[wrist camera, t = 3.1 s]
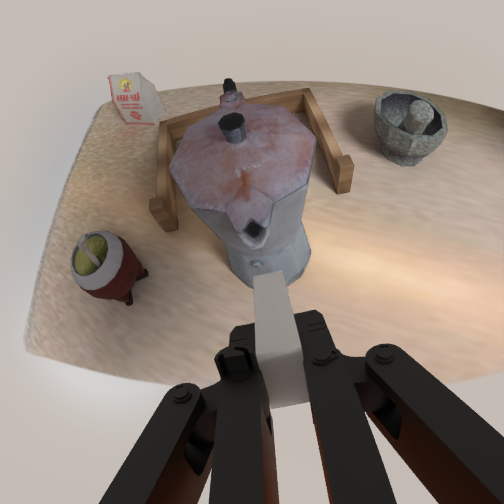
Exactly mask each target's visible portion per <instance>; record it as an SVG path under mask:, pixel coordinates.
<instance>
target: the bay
mask: <svg viewBox="0 0 504 504" xmlns="http://www.w3.org/2000/svg"><path fill="white" fill-rule="evenodd" d="M244 101H245V103H248V104H263V105H278V106H283V107H284V108H286V109H287V110H288V111H289V112H290V113H298V112H305V114H306V116H307V118H308V120H309V123H310V125H311V127H312V129H313V132H314V134H315V136H316V139H317V141H318V143H319V146H320V148H321V150H322V153H323V155H324V158H325V160H326V162H327V165H328V167H329V170H330V172H331V175H332V177H333V180H334V187H335V189H336V192H337V194H343V193H348V192H350V188H351V182H352V176H353V170H354V164H353V162H352V159H351V157H350V155H344V156H343V155H342V153H341V150H340V148H339V146H338V144H337V142H336V140H335V138H334V136H333V133H332V131H331V129H330V127H329V125H328V123H327V121H326V119H325V117H324V115H323V113H322V111H321V109H320V107H319V106H318V104H317V102H316V100H315V98H314V96H313V94H312V92H311V90H310V89H309V88H305V89H298V90H292V91H286V92H280V93H275V94H269V95H264V96H259V97H254V98H249V99H245V100H244ZM219 109H220V105H219V106H215V107H211V108H207V109H203V110H199V111H196V112H192V113H188V114H185V115H181V116H178V117H175V118H171V119H168V120H165V121H162V122H160V124H159V140H158V159H157V191H156V198H152V199H150V201H149V211H150V212H151V214H152V215H153V216H154V218H155V219H156V220H157V221H158V223H159V224H160V225H161V227H162V228H163V229H164V230H165V232H169V231H173V230H177V229H178V218H177V217H176V203H175V180H174V178H173V176H172V175H171V173H170V171H169V165H170V163H171V161H172V159H173V157H174V155H175V141H176V140H179V139H182V138H183V136H184V134H185V132H186V130H187V129H188V127H189V126H191V125H193V124H195V123H196V122H198V121H200V120H202V119H204V118H205V117H207V116H209V115H211V114H213V113H214V112H216V111H218V110H219Z"/></svg>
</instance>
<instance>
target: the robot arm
mask: <svg viewBox="0 0 504 504" xmlns="http://www.w3.org/2000/svg"><path fill="white" fill-rule="evenodd" d="M253 284H254V315H255V323H252V324H247V325H241V326H236V327H235V328H234V329H233V330H232V332H231V333H230V340H229V342H230V343H229V346H228V347H226V348H224V349H222V350H220V351H219V352H218V353H217V354H216V356H215V358H214V360H215V363H216V366H217V369H218V371H219V374H220V377H221V380H220V381H219V382H217V383H216V384H214V385H211V386H209V387H206V388H203V389H201V390H200V388H199V387H198V386H197V385H195V384H191V383H182V384H179V385H176V386H174V387H173V388H171V389H170V390H169V391H168V392H167V393H166V394H165V396H164V398H163V399H162V401H161V403H160V404H159V406H158V407H157V409H156V411H155V413H154V414H153V416H152V417H151V419H150V421H149V422H148V424H147V425H146V427H145V429H144V430H143V432H142V434H141V436H140V437H139V439H138V440H137V442H136V443H135V445H134V447H133V448H132V450H131V452H130V453H129V455H128V457H127V458H126V460H125V461H124V463H123V465H122V466H121V468H120V470H119V471H118V473H117V474H116V476H115V478H114V480H113V481H112V483H111V484H110V486H109V488H108V489H107V491H106V492H105V494H104V496H103V497H102V499H101V501H100V502H99V504H197V503H198V501H199V498H200V496H201V493H202V491H203V488H204V486H205V484H206V481H207V479H208V476H209V474H210V471H211V468H212V472H211V483H210V494H209V504H279V495H278V482H277V469H276V457H275V446H274V432H273V421H272V416H271V413H270V407H271V409H274V408H280V407H285V406H291V405H296V404H301V403H306V402H310V405H311V411H312V417H313V424H314V425H315V431H316V436H317V441H318V445H319V450H320V456H321V460H322V466H323V470H324V476H325V481H326V486H327V492H328V497H329V502H330V504H397V503H396V500H395V497H394V494H393V491H392V488H391V485H390V482H389V479H388V476H387V473H386V470H385V467H384V464H383V462H382V459H381V456H380V453H379V450H378V448H377V445H376V442H375V439H374V436H373V434H372V431H371V428H370V426H369V423H368V420H367V417H366V415H365V412H366V413H367V415H368V417H369V418H370V419H371V420H372V421H373V423H374V424H375V425H376V427H377V428H378V429H379V430H380V432H381V433H382V434H383V435H384V437H385V438H386V439H387V440H388V441H389V443H390V444H391V445H392V446H393V448H394V449H395V450H396V451H397V453H398V454H399V455H400V456H401V458H402V459H403V460H404V461H405V463H406V464H407V465H408V466H409V468H410V469H411V470H412V471H413V473H414V474H415V475H416V476H417V478H418V479H419V480H420V481H421V482H422V484H423V485H424V486H425V487H426V489H427V490H428V491H429V492H430V494H431V495H432V496H433V497H434V498H435V500H436V501H437V502H438V503H439V504H504V437H503V436H502V435H501V434H500V433H499V432H497V431H496V430H495V429H494V428H493V427H492V426H490V424H488V423H487V422H486V421H485V420H484V419H483V418H482V417H480V416H479V415H478V414H477V413H476V412H475V411H474V410H472V409H471V408H470V407H469V406H468V405H466V403H464V402H463V401H462V400H461V399H460V398H459V397H457V396H456V395H455V394H454V393H453V392H452V391H451V390H449V389H448V388H447V387H446V386H445V385H444V384H442V383H441V382H440V381H439V380H438V379H437V378H435V377H434V376H433V375H432V374H431V373H429V372H428V371H427V370H426V369H425V368H424V367H422V366H421V365H420V364H419V363H418V362H417V361H415V360H414V359H413V358H412V357H411V356H409V355H408V354H407V353H406V352H405V351H403V350H402V349H401V348H400V347H398V346H396V345H393V344H380V345H376V346H374V347H372V348H371V349H369V350H368V352H367V353H366V357H350V356H345V355H343V354H341V352H340V351H339V350H338V349H336V347H335V345H334V342H333V340H332V337H331V335H330V332H329V330H328V328H327V325H326V323H325V320H324V317H323V315H322V314H321V313H319V312H318V311H317V310H311V311H307V312H302V313H297V314H293V310H292V307H291V303H290V299H289V295H288V291H287V287H286V283H285V279H284V275H283V271H282V270H281V271H277V272H272V273H267V274H262V275H257V276H253ZM269 404H270V405H269Z"/></svg>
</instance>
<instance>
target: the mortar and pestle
mask: <svg viewBox="0 0 504 504" xmlns="http://www.w3.org/2000/svg"><path fill="white" fill-rule="evenodd" d="M374 129H375V131H376V133H377V135H378V137H379V138H380V139H381V141H382V144H381V150H382V152H383V153H384V154H385V156H386V157H387V158H388V160H390V161H392V162H394V163H396V164H398V165H400V166H415V165H416V164H418V163H419V162H420V161H421V160H422V158H423V157H425V156H427V155H429V154H430V153H431V152H432V151H434V150H435V149H436V148H437V147H438V146H439V145H440V144H441V143H442V141H443V140H444V138H445V136H446V134H447V131H448V129H447V122H446V117H445V114H444V113H443V112H442V111H441V110H440V109H439V108H438V107H437V106H436V105H435V104H434V103H433V102H432V101H431V100H429V99H426V98H424V97H422V96H420V95H417V94H415V93H413V92H411V91H394V90H390V91H388V92H386V93H384V94H382V95H380V96H379V97H377V98H376V103H375V114H374Z"/></svg>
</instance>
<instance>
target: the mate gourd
mask: <svg viewBox="0 0 504 504" xmlns="http://www.w3.org/2000/svg"><path fill="white" fill-rule="evenodd" d="M71 271H72V275H73V277H74V279H75V281H76V283H77V284H78V285H79V286H80V287H81V289H83V290H84V291H86V292H87V293H89V294H90V295H92V296H93V297H96V298H101V299H109V300H111V299H115V300H117V301H122V302H125V303H126V305H128V306H130V305H132V304H133V299H132V294H131V288H132V286H133V284H134V283H135V281H138V280H140V279H142V278H145V277H147V276H148V271H147V270H146V269H144V270H143V268H142V266H141V263H140V262H139V260H138V259H137V258H136V256H135V254H134V252H133V251H132V250H131V248H130V247H129V245H128V244H127V243H126V241H125V240H123V239H122V238H120V237H118V236H116V235H115V234H113V233H111V232H109V231H95V232H91V233H89V234H88V233H86V234H84V235H83V236H81V237H80V238H79V240H78V243H77V245H76V246H75V248H74V250H73V253H72V256H71Z"/></svg>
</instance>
